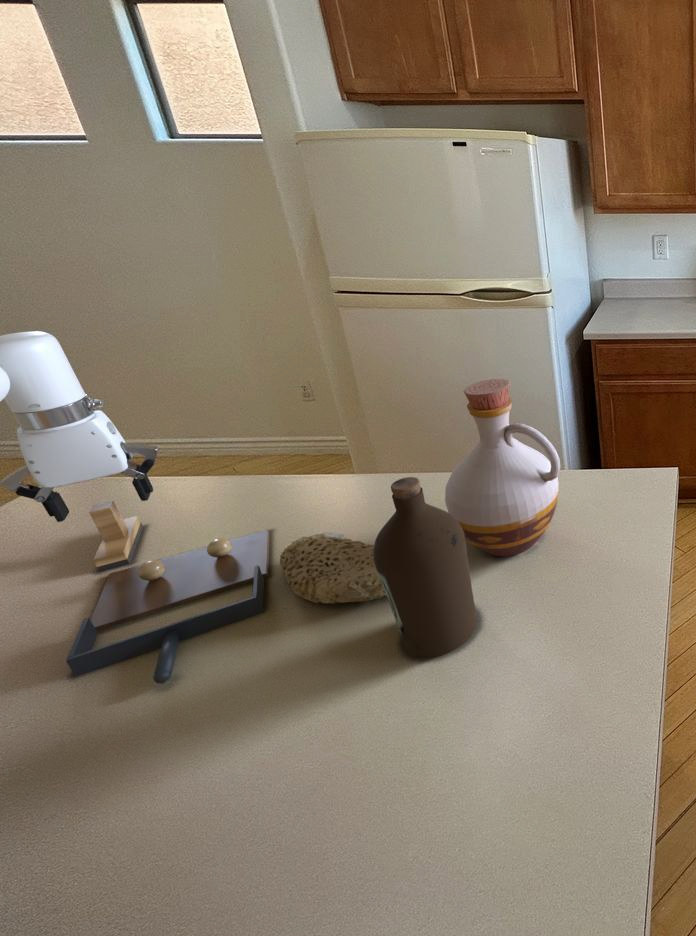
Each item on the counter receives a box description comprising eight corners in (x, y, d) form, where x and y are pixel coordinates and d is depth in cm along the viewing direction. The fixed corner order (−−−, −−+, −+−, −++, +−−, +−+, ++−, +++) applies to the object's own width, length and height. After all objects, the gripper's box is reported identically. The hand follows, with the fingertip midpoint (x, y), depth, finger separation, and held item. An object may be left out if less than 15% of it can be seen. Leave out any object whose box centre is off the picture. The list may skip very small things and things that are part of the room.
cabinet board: (89, 636, 77) (85, 630, 76) (112, 579, 87) (109, 573, 87) (269, 579, 88) (266, 573, 87) (270, 534, 98) (268, 528, 98)
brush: (131, 566, 90) (107, 520, 87) (100, 574, 88) (75, 528, 85) (144, 529, 99) (124, 486, 95) (117, 536, 97) (95, 493, 93)
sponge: (277, 587, 88) (310, 631, 75) (271, 540, 87) (303, 576, 74) (370, 560, 98) (414, 594, 84) (366, 517, 97) (409, 545, 83)
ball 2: (209, 563, 89) (203, 548, 88) (211, 553, 91) (205, 539, 90) (233, 556, 91) (227, 541, 90) (234, 547, 93) (228, 532, 92)
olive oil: (481, 597, 85) (452, 455, 75) (483, 649, 76) (451, 496, 66) (403, 617, 81) (361, 470, 71) (396, 675, 72) (347, 516, 62)
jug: (589, 519, 103) (575, 370, 92) (545, 586, 87) (521, 415, 76) (493, 508, 107) (468, 361, 95) (434, 569, 90) (394, 402, 79)
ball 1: (140, 587, 84) (132, 572, 83) (143, 576, 86) (136, 561, 85) (166, 579, 86) (159, 564, 85) (169, 568, 88) (162, 553, 87)
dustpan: (94, 636, 77) (83, 618, 76) (265, 581, 87) (258, 564, 86) (56, 732, 64) (43, 713, 63) (261, 655, 74) (254, 636, 73)
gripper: (138, 392, 91) (179, 480, 98) (-22, 419, 82) (36, 514, 89) (129, 408, 85) (173, 500, 93) (-44, 439, 76) (20, 538, 83)
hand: (106, 506), depth 91 cm, fingers open, 9 cm apart
